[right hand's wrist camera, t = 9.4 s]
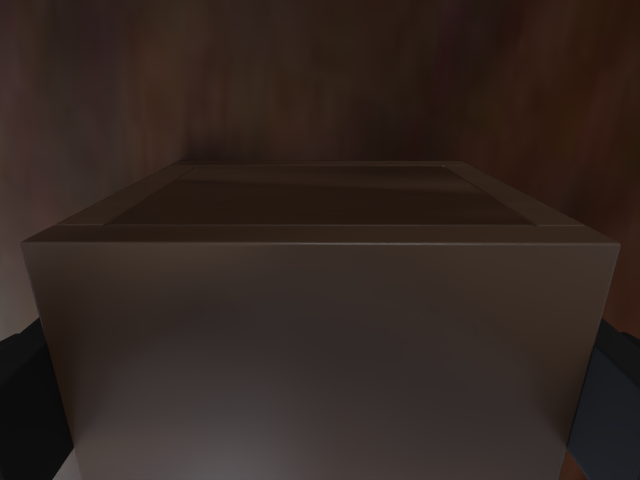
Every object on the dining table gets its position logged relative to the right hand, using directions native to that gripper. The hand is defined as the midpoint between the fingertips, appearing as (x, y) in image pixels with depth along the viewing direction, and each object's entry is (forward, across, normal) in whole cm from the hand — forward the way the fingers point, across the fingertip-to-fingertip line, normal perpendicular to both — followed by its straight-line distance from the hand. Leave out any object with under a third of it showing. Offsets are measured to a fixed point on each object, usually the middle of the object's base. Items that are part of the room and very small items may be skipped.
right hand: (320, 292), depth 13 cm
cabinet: (+4, 0, -7) cm, 8 cm away
